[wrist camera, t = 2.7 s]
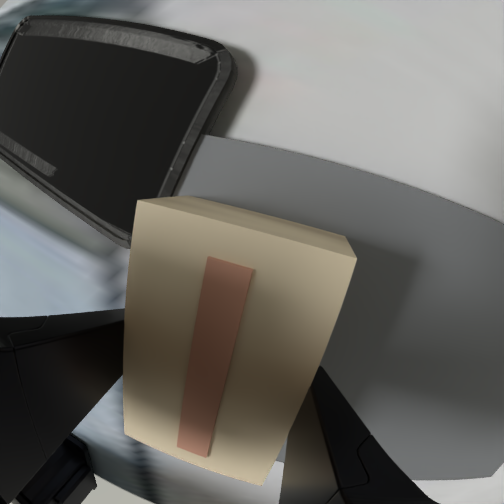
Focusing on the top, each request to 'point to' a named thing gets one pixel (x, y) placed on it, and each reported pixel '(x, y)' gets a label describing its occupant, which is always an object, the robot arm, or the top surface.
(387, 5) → the top surface
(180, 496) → the top surface
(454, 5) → the top surface
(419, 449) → the mat
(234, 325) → the beige wooden block
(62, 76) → the phone
